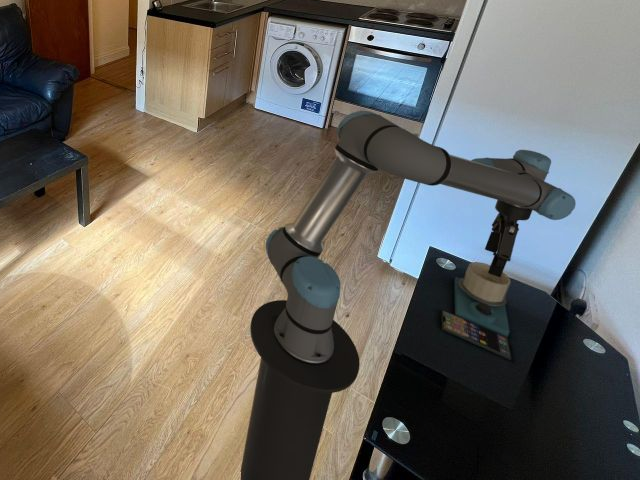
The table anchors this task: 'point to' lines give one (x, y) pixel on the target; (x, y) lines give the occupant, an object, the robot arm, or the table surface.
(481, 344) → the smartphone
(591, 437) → the table surface
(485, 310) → the tare button
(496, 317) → the scale
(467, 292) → the scale pan
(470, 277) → the bowl
